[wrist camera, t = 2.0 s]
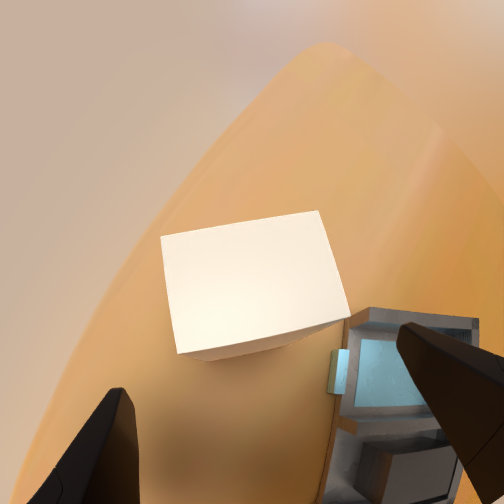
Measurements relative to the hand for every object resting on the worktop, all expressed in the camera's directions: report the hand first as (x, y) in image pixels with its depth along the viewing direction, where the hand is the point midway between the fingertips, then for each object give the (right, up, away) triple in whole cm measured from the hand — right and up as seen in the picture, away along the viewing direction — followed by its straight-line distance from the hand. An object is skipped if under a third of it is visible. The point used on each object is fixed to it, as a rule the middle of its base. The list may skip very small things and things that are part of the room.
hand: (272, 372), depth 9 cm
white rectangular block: (-1, -1, +10) cm, 11 cm away
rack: (+9, -11, +7) cm, 16 cm away
